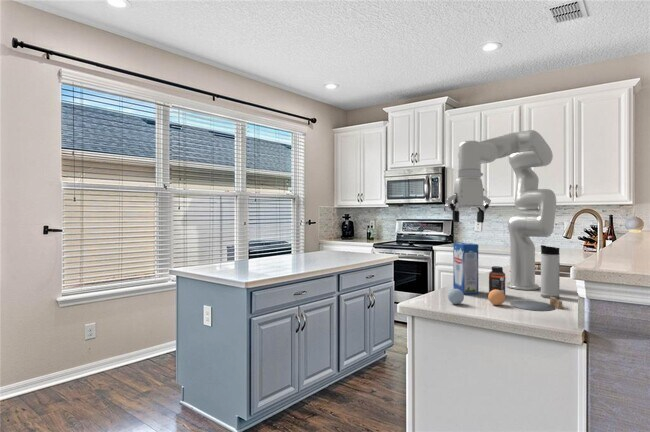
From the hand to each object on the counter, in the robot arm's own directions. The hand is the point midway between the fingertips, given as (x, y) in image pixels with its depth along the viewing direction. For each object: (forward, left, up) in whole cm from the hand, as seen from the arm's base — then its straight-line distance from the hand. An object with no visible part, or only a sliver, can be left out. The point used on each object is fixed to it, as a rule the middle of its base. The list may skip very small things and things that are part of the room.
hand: (468, 222), depth 146 cm
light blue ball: (+2, -5, -27) cm, 27 cm away
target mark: (+2, +21, -30) cm, 36 cm away
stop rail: (+2, +29, -30) cm, 41 cm away
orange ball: (+2, +9, -27) cm, 28 cm away
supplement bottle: (-14, +14, -30) cm, 36 cm away
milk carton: (-19, +3, -30) cm, 35 cm away
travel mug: (-13, +33, -30) cm, 46 cm away
